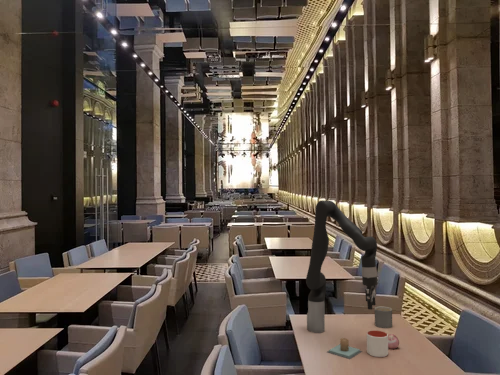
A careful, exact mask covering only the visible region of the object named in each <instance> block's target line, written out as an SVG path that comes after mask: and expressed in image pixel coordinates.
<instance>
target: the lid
mask: <svg viewBox="0 0 500 375" xmlns="http://www.w3.org/2000/svg"><path fill="white" fill-rule="evenodd" d="M349 341H350V340H349V339H348V338H345V337H344V338H343V337H342V338H340V339H339V342H340V344H337V345H336V346H334V347H332V348H331V349H329V350H328V351H329V352H330V353H333V354H337V355H340V356H343V357H347V358H350V357H352V356H353V355H355V354H357V353H358V352H360V351H361V349H360V348H357V347H353V346H349V343H350V342H349ZM330 353H329V354H330ZM333 354H332V355H333ZM337 355H336V356H337ZM340 356H339V357H340ZM343 357H342V358H343ZM347 358H346V359H347Z"/></svg>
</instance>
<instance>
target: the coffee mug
mask: <svg viewBox="0 0 500 375" xmlns="http://www.w3.org/2000/svg"><path fill="white" fill-rule="evenodd" d="M374 326H375V327H377V328H380V329H391V328H393V309H392V308H391V307H390V306H389V307H388V306H383V305H382V306H376V307H374Z"/></svg>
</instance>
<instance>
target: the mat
mask: <svg viewBox="0 0 500 375" xmlns="http://www.w3.org/2000/svg"><path fill="white" fill-rule="evenodd" d="M326 353H327V354H331V355H334V356H337V357H340V358H345V359H348V360H352V359H353V358H355V357H356V356H359V354H361V353H363V350H360V352H358V353H357V354H355V355H353V356H352V357H350V358H347V357H343V356H340V355H337V354H333V353H330V352H329V350H327V351H326Z"/></svg>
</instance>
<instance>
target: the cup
mask: <svg viewBox="0 0 500 375" xmlns="http://www.w3.org/2000/svg"><path fill="white" fill-rule="evenodd" d="M366 352H367V354H368V355H369V356H372V357H374V358H384V357H387V356H388V355H389V348H388V333H387V332H385V331H382V330H368V331H367V332H366Z"/></svg>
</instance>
